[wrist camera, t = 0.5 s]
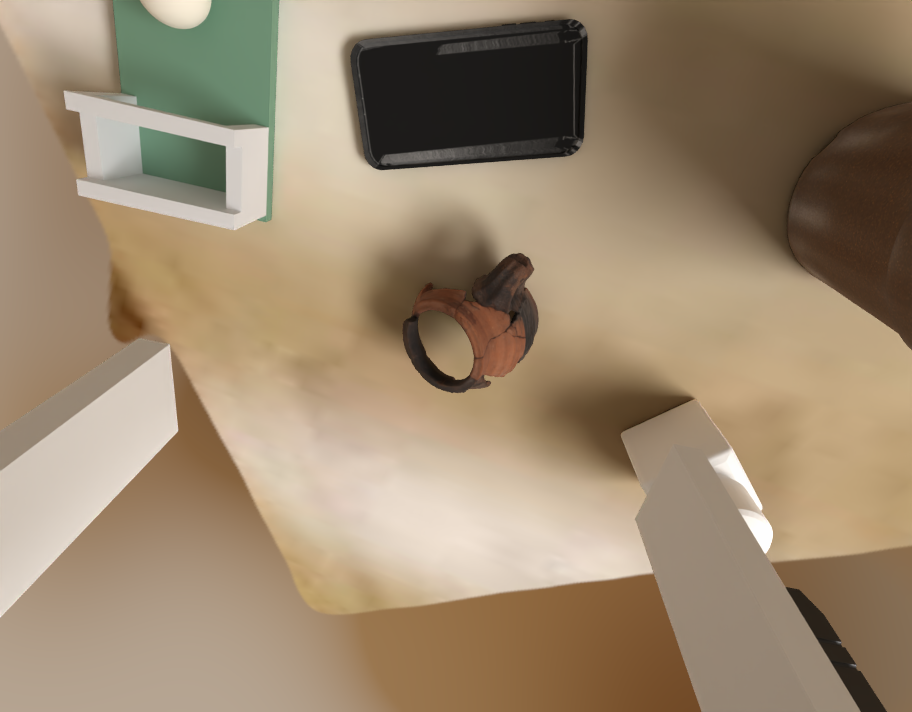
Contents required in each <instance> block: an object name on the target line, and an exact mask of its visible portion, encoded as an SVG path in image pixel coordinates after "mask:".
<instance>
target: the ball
mask: <svg viewBox="0 0 912 712" xmlns="http://www.w3.org/2000/svg"><path fill="white" fill-rule="evenodd" d="M140 1H141V3H142V4H143V6H144V7H145V8H146V10H147V11H148V12H149V13H150V14H151V15H152V16H153V17H155V18H156V19H157V20H159V21H160V22H162V23H163V24H165V25H168V26H170V27H173V28H178V29H190V28H194V27H196V26H198V25H199V24H201V23H202V22H203V21H204V20H205V19H206V17H207V16H208V14H209V11H210V8H211V0H140Z"/></svg>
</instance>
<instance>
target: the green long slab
mask: <svg viewBox="0 0 912 712" xmlns="http://www.w3.org/2000/svg"><path fill="white" fill-rule="evenodd" d="M113 9H114V19H115V30H116V40H117V51H118V61H119V72H120V82H121V93H108V92H87V91H65V90H63V91H64V98H65V105H66V109H67V110H71V111H76V112H79V114H80V122H81V129H82V137H83V144H84V152H85V159H86V167H87V174H88V177H86V178H80V179H76V182H77V189H78V195H79V196H84V197H88V198H93V199H97V200H102V201H106V202H111V203H115V204H119V205H124V206H128V207H133V208H137V209H142V210H146V211H151V212H155V213H160V214H164V215H169V216H173V217H177V218H182V219H186V220H191V221H195V222H200V223H204V224H209V225H213V226H218V227H222V228H227V229H231V230H236V229H238V228H240V227H242V226H245V225H247V224H249V223H251V222H253V221H255V220H259V221H263V222H267V221H269V220H271V214H272V186H273V157H274V128H275V100H276V71H277V42H278V14H279V0H211V8H210V11H209V14H208V16H207V17H206V19H205V20H204V21H203V22H202V23H201V24H199V25H198V26H196V27H194V28H190V29H178V28H173V27H170V26H168V25H165V24H163V23H162V22H160V21H159V20H157V19H156V18H155V17H153V16H152V15H151V14H150V13H149V12H148V11H147V10H146V8H145V7H144V6H143V4H142V3H141V1H140V0H113Z"/></svg>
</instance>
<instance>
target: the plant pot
mask: <svg viewBox="0 0 912 712" xmlns="http://www.w3.org/2000/svg"><path fill="white" fill-rule="evenodd" d="M787 233H788V240H789V244H790V247H791V250H792V252H793V254H794V256H795V257H796V259H797V260H798V261H799V262H800V263H801V264H802V266H803V267H804V268H805V269H806V270H807V271H808V272H809V273H810V274H811V275H813V276H814V277H816V278H818V279H819V280H821V281H822V282H824V283H825V284H827V285H828V286H830V287H831V288H833V289H834V290H836V291H837V292H839V293H840V294H842V295H843V296H845V297H846V298H848V299H849V300H850V301H852V302H853V303H855V304H856V305H858V306H859V307H861V308H862V309H864V310H865V311H867V312H868V313H870V314H871V315H873V316H874V317H876V318H877V319H878V320H880V321H881V322H883V323H884V324H886V325H887V326H889V327H890V328H891V329H893V330H894V331H896V332H897V333H898V334H899V335H900V337H901V338H902V339H903V341H904V342H905V343H906V345H907V346H908V347H909V348H910V349H911V350H912V102H910V103H904V104H899V105H895V106H891V107H888V108H885V109H882V110H879V111H876V112H873V113H871V114H868V115H866V116H864V117H862V118H859V119H858V120H856V121H855V122H853V123H852V124H850V125H848V126H847V127H845V128H844V129H842V130H841V131H840V132H839V133H838V135H837V136H836V138H835V139H834V140H833V141H832V142H831V143H830V144H829V145H828V146H827V147H826V148H824V149H823V150H822V151H821V152H820V153H819V154H818V155H816V156H815V157H814V158H813V159H812V160H811V161H810V163H809V164H808V165H807V167H806V168H805V170H804V171H803V173H802V175H801V177H800V178H799V180H798V182H797V185H796V187H795V190H794V192H793V195H792V198H791V202H790V206H789V211H788V220H787Z"/></svg>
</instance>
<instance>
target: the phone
mask: <svg viewBox="0 0 912 712" xmlns="http://www.w3.org/2000/svg"><path fill="white" fill-rule="evenodd" d="M587 45H588V38H587V32H586V30H585V27H584V26H583V25H582V24H581V23H580V22H578V21H576V20H570V19H568V20H558V21H554V20H552V21H545V22H538V23H536V22H529V23H520V24H517V25H516V23H515V24H505V25H502V26H497V27H487V28H477V29H467V30H456V31H446V32H436V33H426V34H416V35H406V36H396V37H385V38H375V39H365V40H362V41H360V42H358V43H357V44H356V45H355V46H354V48H353V50H352V53H351V67H352V74H353V81H354V88H355V94H356V101H357V108H358V115H359V121H360V128H361V135H362V142H363V148H364V154H365V158H366V160H367V162H368V163H369V164H370V165H371V166H372V167H373V168H376V169H378V170H390V169H404V168H417V167H430V166H444V165H457V164H471V163H484V162H498V161H511V160H524V159H538V158H551V157H565V156H570V155H572V154H574V153H575V152H577V151H578V149H579V148H580V147H581V145H582V143H583V138H584V120H585V95H586V70H587Z"/></svg>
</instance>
